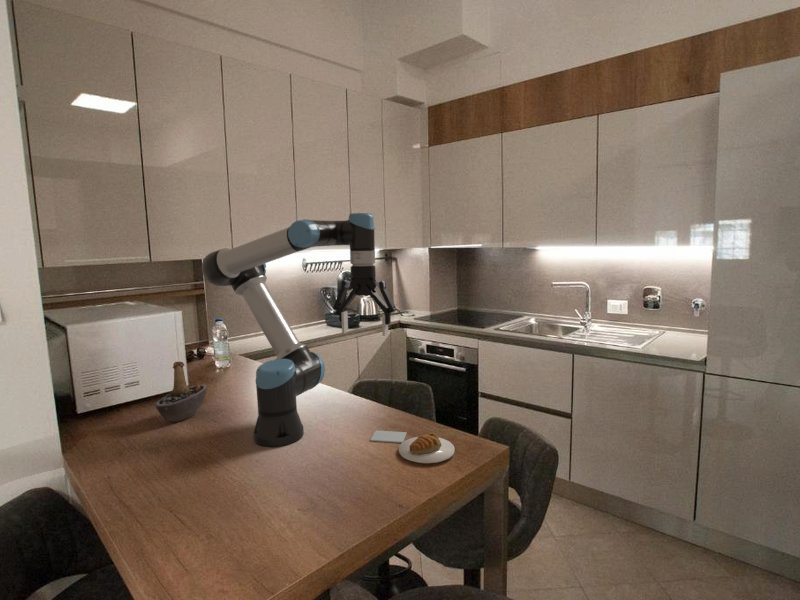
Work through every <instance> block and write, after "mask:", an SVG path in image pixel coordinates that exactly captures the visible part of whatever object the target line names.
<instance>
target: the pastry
mask: <svg viewBox="0 0 800 600" xmlns="http://www.w3.org/2000/svg"><path fill="white" fill-rule="evenodd" d="M417 437H418V438H417V439H416V440H415V441H414V442H413V443H412V444H411V445H410V452H411V453H414V454H418V455H423V454H428V453H431V452H434V451H435V450H436V451H437V450H439V448H440V447H441V442H440V440H439V438H440V437H439V436H438V435H437V434H436V433H434V432H427V433H426V434H423V435H419V436H417Z"/></svg>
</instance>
